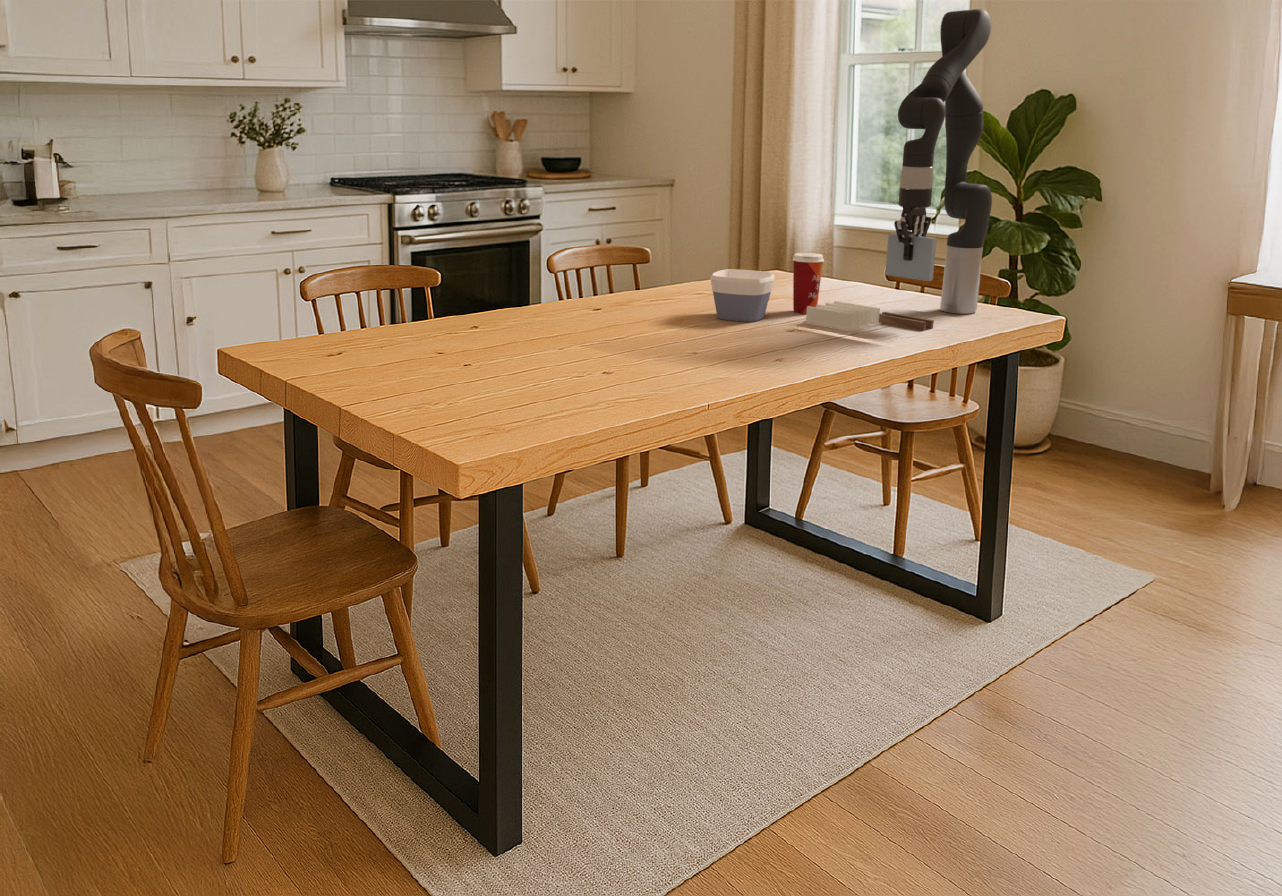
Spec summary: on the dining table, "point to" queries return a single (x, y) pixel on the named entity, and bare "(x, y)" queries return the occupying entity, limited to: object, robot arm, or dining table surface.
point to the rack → (843, 316)
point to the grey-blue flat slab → (920, 263)
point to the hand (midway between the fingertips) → (910, 259)
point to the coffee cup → (806, 280)
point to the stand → (905, 321)
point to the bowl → (741, 294)
